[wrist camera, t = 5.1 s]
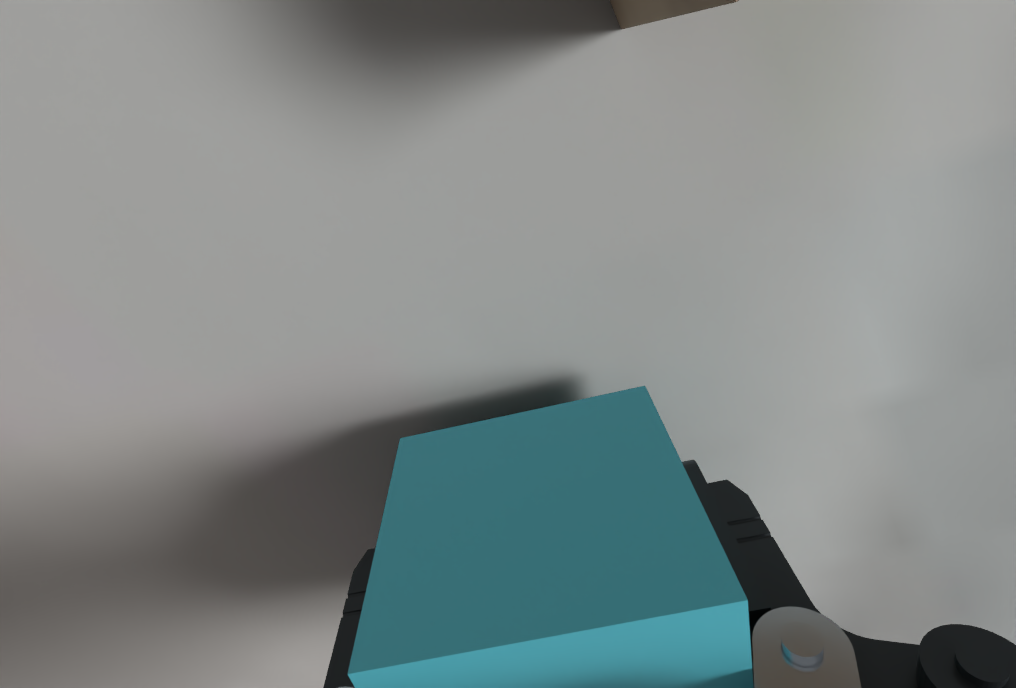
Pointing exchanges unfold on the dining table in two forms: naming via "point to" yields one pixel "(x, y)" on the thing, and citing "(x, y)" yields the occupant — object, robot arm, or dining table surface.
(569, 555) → the teal block
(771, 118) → the dining table surface
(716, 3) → the walnut block
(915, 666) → the robot arm
